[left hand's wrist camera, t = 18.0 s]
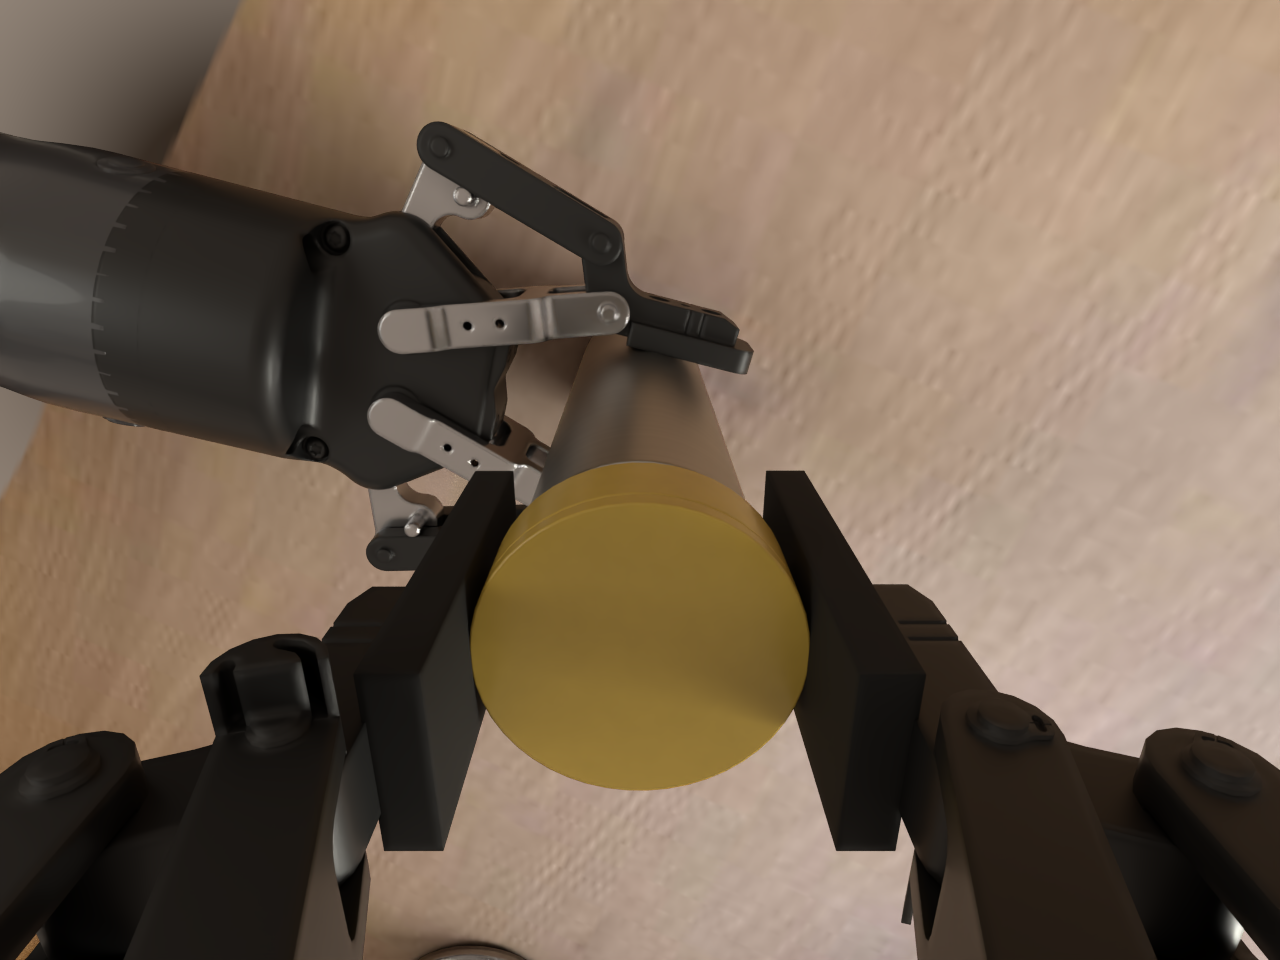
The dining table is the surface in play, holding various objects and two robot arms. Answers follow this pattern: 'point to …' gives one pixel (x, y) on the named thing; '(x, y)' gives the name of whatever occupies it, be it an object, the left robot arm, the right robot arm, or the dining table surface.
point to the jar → (636, 417)
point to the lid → (639, 629)
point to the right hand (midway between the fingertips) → (720, 436)
